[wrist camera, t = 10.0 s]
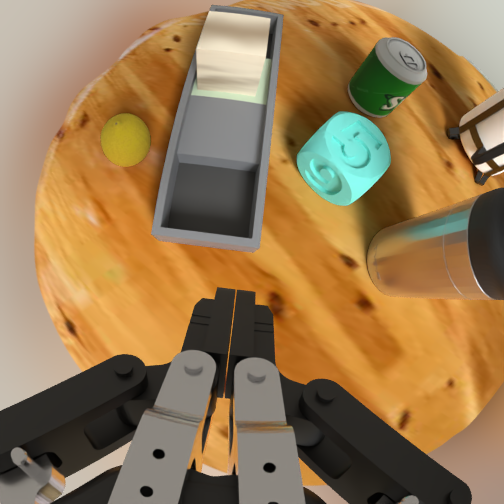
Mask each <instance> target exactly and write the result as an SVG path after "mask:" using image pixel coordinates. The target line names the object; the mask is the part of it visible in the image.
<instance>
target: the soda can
mask: <svg viewBox="0 0 504 504" xmlns="http://www.w3.org/2000/svg"><path fill="white" fill-rule="evenodd" d="M426 77H427V69H426V62H425V60H424V58H423V56H422V55H421V54H420V52H419V51H418V50H417V49H416V48H415V47H414V46H412V45H411V44H410V43H408V42H406V41H404V40H402V39H399V38H382V39H380V40H379V41H378V42H377V44H376V45H375V47H374V48H373V49H372V51H371V52H370V54H369V55H368V56H367V58H366V59H365V61H364V62H363V63H362V65H361V66H360V68H359V69H358V70H357V72H356V73H355V75H354V76H353V77H352V79H351V80H350V82H349V84H348V93H349V96H350V99H351V100H352V102H353V104H354V105H355V106H356V107H357V108H358V109H359V110H360V111H361V112H363V113H364V114H367V115H369V116H372V117H378V118H382V117H386V116H387V115H388V114H390V113H391V112H392V111H393V110H394V109H395V108H396V107H397V106H398V105H399V104H400V103H401V102H402V101H403V100H404V99H405V98H406V97H408V96H409V95H410V94H411V93H412V92H413V91H414V90H415V89H416V88H417V87H418V86H419V85H420V84H421V83H422V82H423V81H425V80H426Z"/></svg>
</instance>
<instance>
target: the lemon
mask: <svg viewBox="0 0 504 504" xmlns="http://www.w3.org/2000/svg"><path fill="white" fill-rule="evenodd" d="M150 145H151V136H150V132H149V129H148V127H147V126H146V124H145V123H144V122H143V121H142V120H141V119H140V118H139V117H137V116H135V115H133V114H129V113H122V114H118V115H115V116H114V117H112V118H111V119H109V120H108V121H107V122H106V124H105V125H104V127H103V129H102V132H101V147H102V149H103V152H104V154H105V156H106V157H107V158H108V159H109V160H110V161H111V162H112V163H114V164H116V165H118V166H122V167H129V166H134V165H136V164H138V163H139V162H141V161H142V160H143V159H144V158H145V157H146V155H147V153H148V152H149V149H150Z"/></svg>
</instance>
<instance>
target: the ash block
mask: <svg viewBox="0 0 504 504" xmlns="http://www.w3.org/2000/svg"><path fill="white" fill-rule="evenodd" d="M270 20H271V19H270V18H265V17H258V16H252V15H244V14H236V13H227V12H215V11H209V13H208V16H207V19H206V21H205V24H204V27H203V30H202V33H201V36H200V39H199V42H198V45H197V48H196V59H197V90H207V91H217V92H226V93H234V94H241V95H248V96H256V92H257V88H258V85H259V81H260V77H261V73H262V70H263V66H264V62H265V59H266V52H267V44H268V36H269V28H270Z"/></svg>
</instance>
